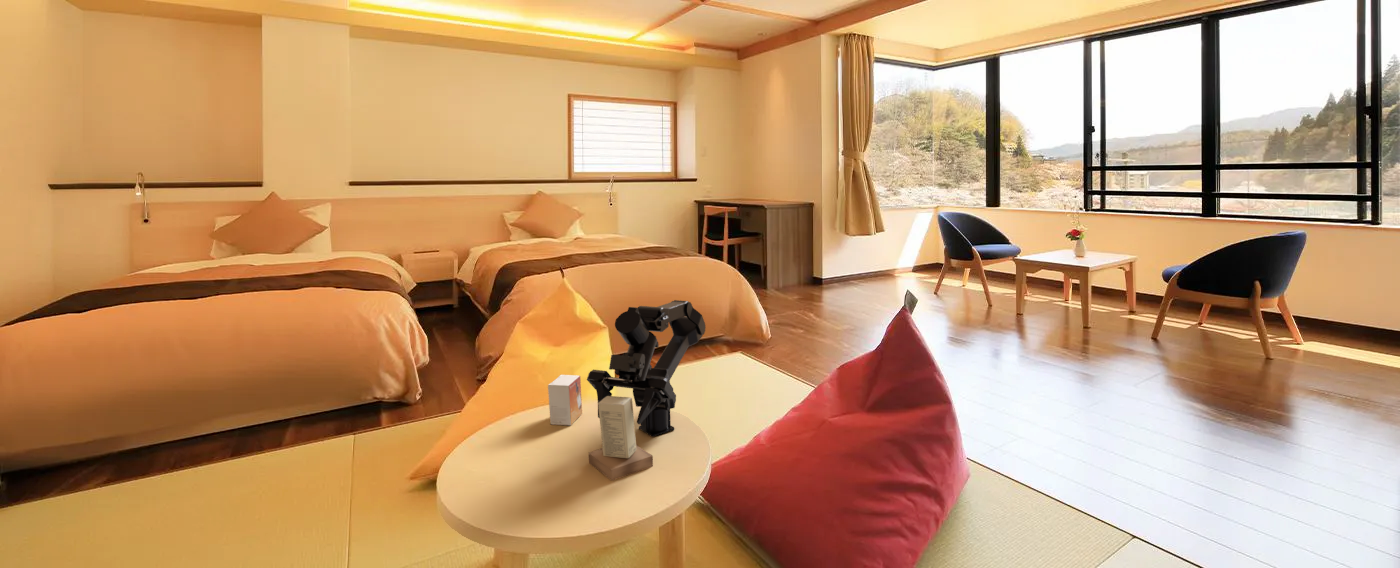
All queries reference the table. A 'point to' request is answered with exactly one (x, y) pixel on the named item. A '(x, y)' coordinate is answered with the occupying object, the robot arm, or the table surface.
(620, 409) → the skincare box
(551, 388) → the small box
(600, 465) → the walnut block
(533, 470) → the table surface
